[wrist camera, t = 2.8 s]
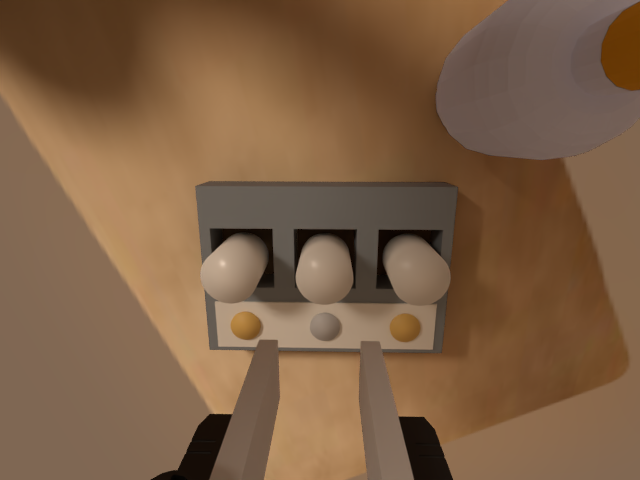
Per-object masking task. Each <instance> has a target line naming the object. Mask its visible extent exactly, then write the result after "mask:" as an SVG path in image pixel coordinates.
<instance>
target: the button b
mask: <svg viewBox="0 0 640 480" xmlns="http://www.w3.org/2000/svg"><path fill="white" fill-rule="evenodd" d="M296 284H297V287H298V289H299V291H300V292H301V294H302V295H303V296H304V297H305V298H306V299H308V300H309V301H311V302H313V303H316V304H321V305H328V304H333V303H336V302H338V301H340V300H342V299H343V298H344V297H345V296H346V295H347V294H348V293H349V291H350V290H351V287H352V284H353V271H352V265H351V259H350V253H349V249H348V247H347V245H346V243H345V242H344V241H343V240H342V239H341V238H340V237H338V236H337V235H334V234H331V233H319V234H316V235H314V236H312V237H311V238H309V239H308V240H307V241H306V243H305V244H304V246H303V248H302V252H301V256H300V259H299V263H298V267H297V271H296Z"/></svg>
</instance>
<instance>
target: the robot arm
mask: <svg viewBox="0 0 640 480" xmlns="http://www.w3.org/2000/svg"><path fill="white" fill-rule="evenodd" d="M279 399H280V389H279V359H278V340H259V341H258V344H257V347H256V350H255V353H254V355H253V358H252V361H251V364H250V367H249V369H248V372H247V375H246V378H245V381H244V384H243V386H242V389H241V392H240V395H239V398H238V400H237V403H236V406H235V409H234V412H233V414H209V416H207V417H206V419H205V420H204V421H203V422H201V424H199V426H198V428H197V430H196V432H195V434H194V436H193V438H192V442H191V443H190V445H189V447H188V449H187V452H186V454H185V455H184V458H183V460H182V462H181V464H180V466H179V468H178V471H177V470H176V471H175V470H173V471H169V472H165V473H162V474H160V475H158V476H157V477H155V478H153V479H151V480H264V476H265V470H266V465H267V460H268V455H269V450H270V445H271V440H272V435H273V430H274V424H275V419H276V414H277V409H278V404H279ZM359 405H360V414H361V423H362V432H363V441H364V450H365V459H366V468H367V477H368V480H453V478H452V476H451V473H450V470H449V467H448V464H447V462H446V460H445V458H444V453H443V451H442V448H441V447H440V442H439V440H438V437H437V434H436V431H435V429H434V428H433V427H432V426H431V425H430V423H429V422H428V421H427V420H426V419H425V418H424V417H398V413H397V409H396V405H395V401H394V397H393V393H392V389H391V385H390V381H389V377H388V373H387V369H386V365H385V361H384V357H383V353H382V349H381V345H380V341H361V347H360V377H359Z"/></svg>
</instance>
